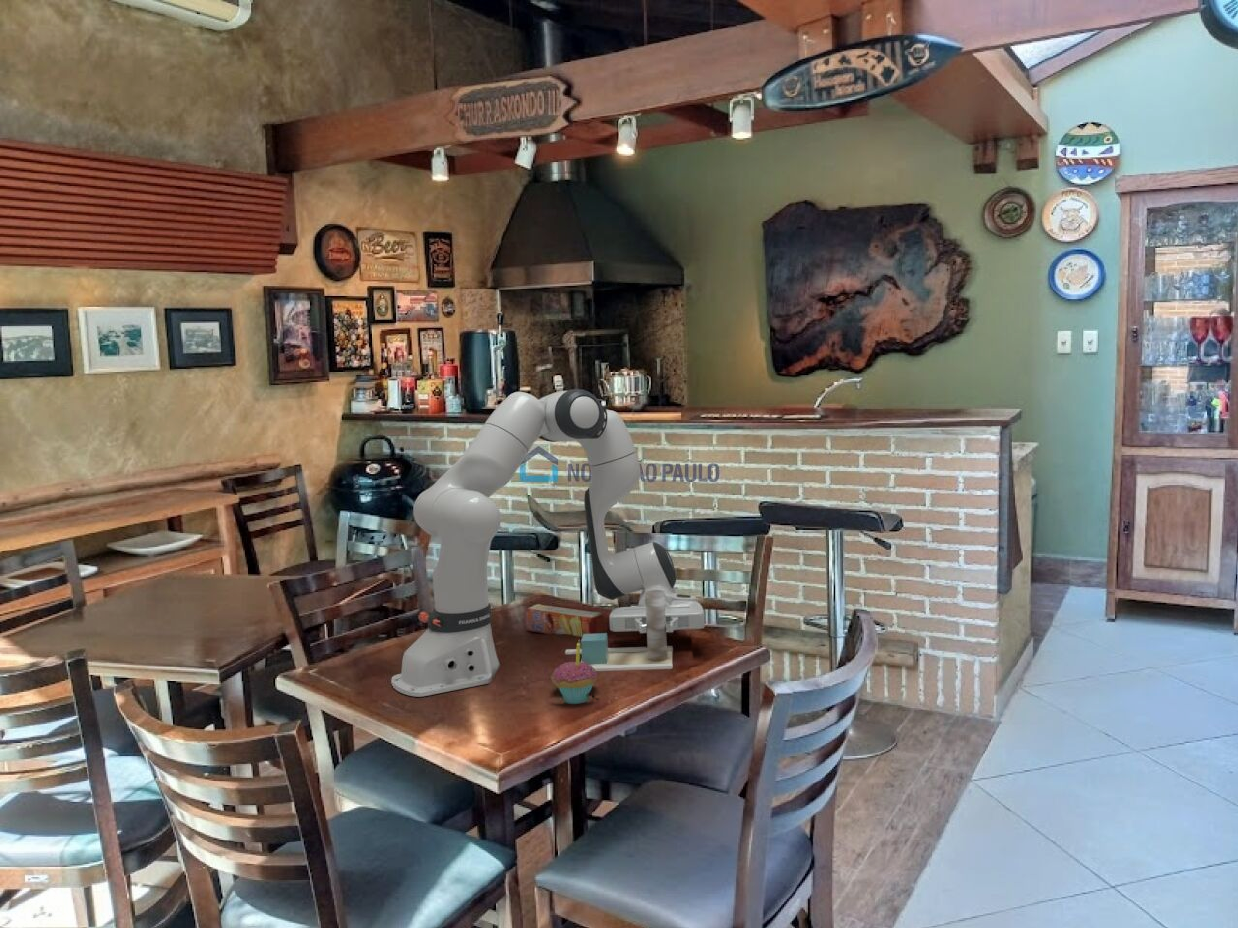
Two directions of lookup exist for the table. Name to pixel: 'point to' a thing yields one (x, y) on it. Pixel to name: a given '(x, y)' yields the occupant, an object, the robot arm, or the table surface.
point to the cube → (594, 648)
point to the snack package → (564, 621)
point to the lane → (627, 667)
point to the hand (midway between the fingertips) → (656, 629)
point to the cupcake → (574, 679)
